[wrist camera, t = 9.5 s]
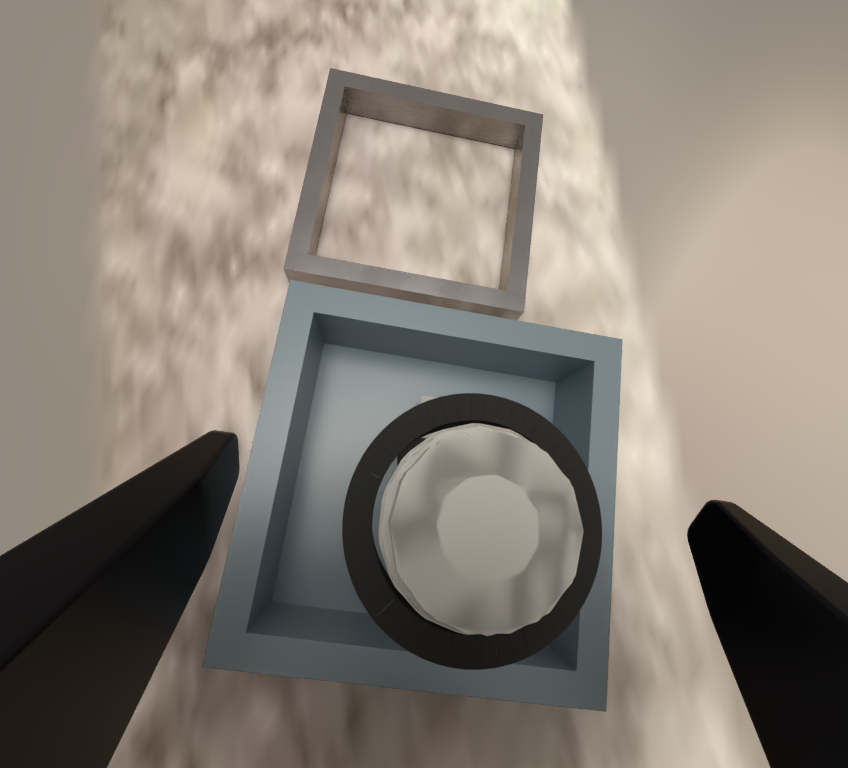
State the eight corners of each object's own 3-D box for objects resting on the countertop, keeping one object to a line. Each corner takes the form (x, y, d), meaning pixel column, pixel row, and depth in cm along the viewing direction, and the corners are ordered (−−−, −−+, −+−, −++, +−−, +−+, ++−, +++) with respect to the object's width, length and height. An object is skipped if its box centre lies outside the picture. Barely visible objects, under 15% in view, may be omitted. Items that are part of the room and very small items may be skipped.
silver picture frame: (512, 324, 20) (523, 312, 19) (289, 284, 20) (283, 268, 18) (532, 138, 23) (543, 114, 21) (332, 95, 22) (330, 68, 20)
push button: (363, 399, 18) (356, 306, 9) (491, 407, 19) (617, 328, 9) (350, 573, 17) (325, 694, 7) (489, 577, 18) (637, 693, 8)
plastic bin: (554, 661, 18) (606, 711, 14) (241, 624, 17) (201, 666, 13) (574, 366, 20) (622, 339, 16) (306, 320, 19) (290, 279, 16)
